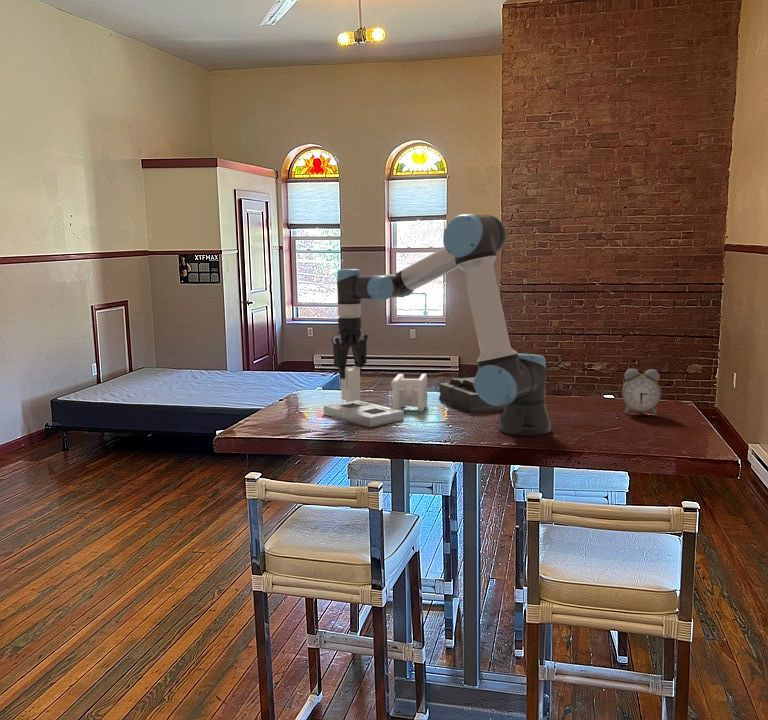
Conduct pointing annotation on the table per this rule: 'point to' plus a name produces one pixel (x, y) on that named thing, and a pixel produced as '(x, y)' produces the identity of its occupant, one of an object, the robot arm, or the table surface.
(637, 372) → the alarm clock
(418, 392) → the cable organizer
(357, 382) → the plug
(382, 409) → the panel
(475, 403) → the dark grey tray
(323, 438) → the table surface
